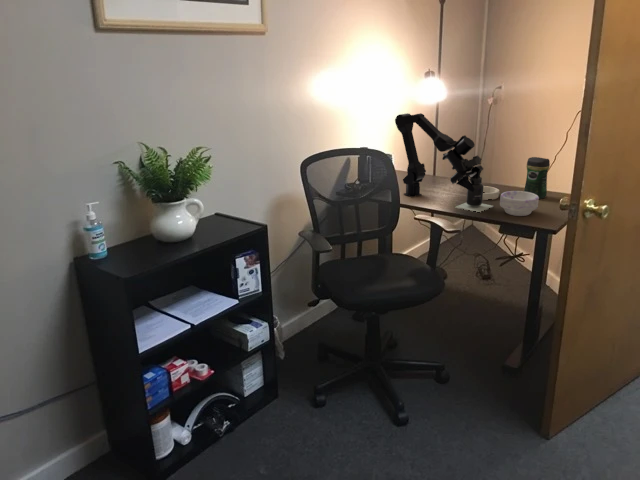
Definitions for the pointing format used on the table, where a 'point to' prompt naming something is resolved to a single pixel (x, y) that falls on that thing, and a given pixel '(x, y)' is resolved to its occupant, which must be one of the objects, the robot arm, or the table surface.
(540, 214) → the table surface
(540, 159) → the coffee jar
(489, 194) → the ring holder
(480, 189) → the supplement bottle
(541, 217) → the table surface
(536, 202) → the paper bowls
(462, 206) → the mat
